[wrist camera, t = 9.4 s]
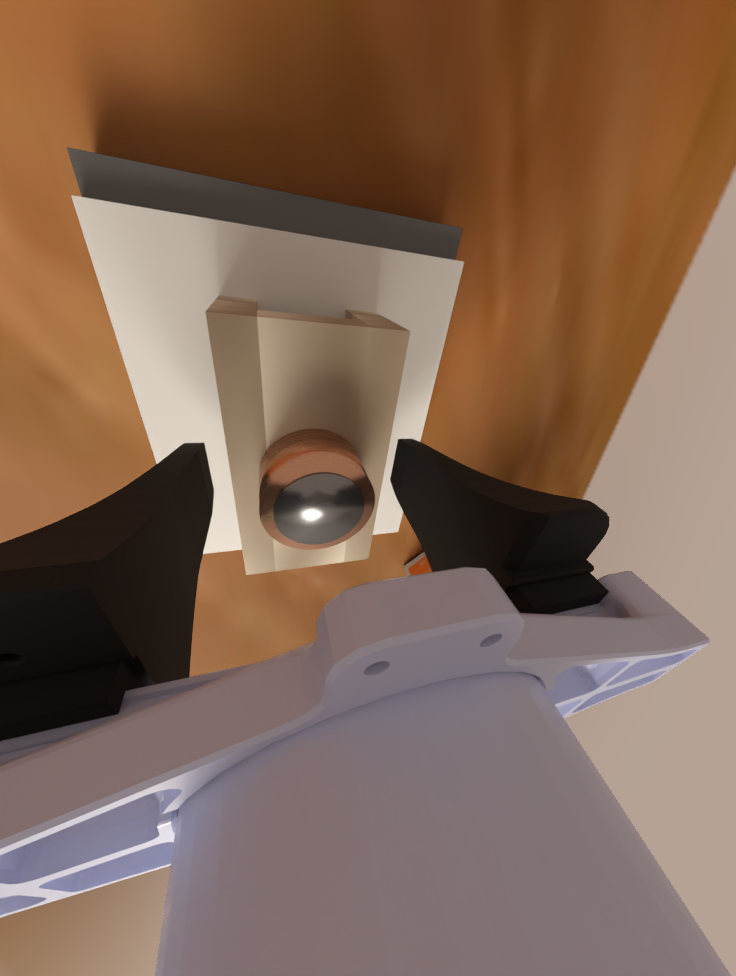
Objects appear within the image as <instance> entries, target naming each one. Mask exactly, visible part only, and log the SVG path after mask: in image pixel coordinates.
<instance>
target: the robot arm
mask: <svg viewBox="0 0 736 976" xmlns="http://www.w3.org/2000/svg"><path fill="white" fill-rule="evenodd" d="M390 481H391V484H392V487H393V490H394V493H395V496H396V498H397V500H398V502H399V504H400V506H401V508H402V510H403V512H404V514H405V515H406V517H407V519H408V521H409V523H410V525H411V526H412V528H413V530H414V532H415V534H416V535H417V537H418V539H419V541H420V543H421V545H422V547H423V550H424V552H425V555H426V557H427V560H428V562H429V565H430V567H431V570H432V572H430V573H424V574H418V575H411V576H405V577H399V578H392V579H386V580H380V581H373V582H367V583H364V584H361V585H358V586H355V587H352V588H349V589H346V590H344V591H343V592H341V593H340V594H339V595H337V596H336V597H334V598H333V599H332V600H330V601H329V602H328V603H327V604H326V605H325V606H324V607H323V609H322V611H321V613H320V616H319V618H318V620H317V622H316V638H315V641H313V642H311V643H308V644H306V645H303V646H301V647H298V648H296V649H293V650H290V651H288V652H285V653H283V654H280V655H278V656H275V657H273V658H270V659H267V660H265V661H262V662H259V663H254V664H249V665H245V666H240V667H235V668H231V669H226V670H221V671H217V672H212V673H207V674H202V675H198V676H193V677H189V672H190V656H191V643H192V630H193V619H194V608H195V599H196V590H197V581H198V574H199V568H200V563H201V559H202V555H203V551H204V547H205V543H206V539H207V534H208V530H209V526H210V522H211V517H212V512H213V500H214V488H213V483H212V478H211V473H210V468H209V463H208V458H207V453H206V449H205V444H204V443H184V444H182V445H181V446H179V447H178V448H177V449H176V450H174V451H173V452H172V453H170V454H169V455H168V456H167V457H165V458H164V459H163V460H162V461H160V462H159V463H158V464H156V465H155V466H154V467H153V468H151V469H150V470H149V471H147V472H146V473H144V474H143V475H141V476H140V477H138V478H137V479H135V480H134V481H133V482H131V483H130V484H128V485H127V486H125V487H124V488H122V489H120V490H119V491H117V492H115V493H114V494H112V495H110V496H108V497H107V498H105V499H103V500H101V501H99V502H97V503H96V504H94V505H92V506H90V507H88V508H85V509H83V510H81V511H79V512H77V513H75V514H72V515H70V516H68V517H66V518H64V519H62V520H60V521H57V522H55V523H53V524H50V525H48V526H45V527H43V528H40V529H38V530H35V531H33V532H30V533H28V534H25V535H22V536H20V537H17V538H14V539H12V540H9V541H6V542H3V543H0V917H3V916H6V915H10V914H13V913H16V912H20V911H23V910H26V909H29V908H32V907H36V906H39V905H42V904H46V903H49V902H52V901H55V900H59V899H62V898H65V897H69V896H72V895H75V894H78V893H82V892H85V891H88V890H92V889H95V888H98V887H101V886H105V885H108V884H111V883H114V882H118V881H121V880H124V879H127V878H131V877H134V876H138V875H140V874H144V873H147V872H150V871H154V870H157V869H160V868H163V867H167V866H170V873H169V879H168V887H167V894H166V901H165V908H164V915H163V922H162V929H161V936H160V943H159V950H158V957H157V964H156V971H155V976H731V975H730V973H729V972H728V970H727V969H726V967H725V966H724V964H723V963H722V961H721V959H720V958H719V956H718V955H717V953H716V952H715V950H714V949H713V947H712V946H711V944H710V943H709V941H708V939H707V938H706V936H705V935H704V933H703V932H702V930H701V929H700V928H699V926H698V924H697V923H696V921H695V919H694V918H693V917H692V915H691V913H690V912H689V910H688V909H687V907H686V906H685V904H684V903H683V901H682V899H681V898H680V897H679V895H678V894H677V892H676V890H675V889H674V887H673V886H672V884H671V883H670V881H669V880H668V878H667V876H666V875H665V874H664V872H663V870H662V869H661V867H660V866H659V864H658V863H657V861H656V859H655V858H654V856H653V855H652V853H651V852H650V850H649V849H648V848H647V846H646V844H645V843H644V841H643V840H642V838H641V836H640V835H639V833H638V832H637V831H636V829H635V827H634V826H633V824H632V823H631V821H630V820H629V818H628V817H627V815H626V814H625V812H624V810H623V809H622V807H621V806H620V804H619V803H618V801H617V800H616V798H615V796H614V795H613V794H612V792H611V790H610V789H609V787H608V786H607V784H606V783H605V781H604V780H603V778H602V776H601V775H600V774H599V772H598V770H597V769H596V767H595V766H594V764H593V763H592V761H591V760H590V758H589V756H588V755H587V753H586V752H585V750H584V749H583V747H582V746H581V744H580V743H579V741H578V740H577V738H576V737H575V735H574V733H573V732H572V730H571V729H570V727H569V726H568V724H567V723H566V721H565V720H564V718H566V717H568V716H571V715H573V714H575V713H577V712H580V711H582V710H584V709H587V708H589V707H591V706H594V705H596V704H598V703H601V702H603V701H606V700H608V699H610V698H613V697H615V696H618V695H620V694H623V693H625V692H628V691H630V690H633V689H636V688H638V687H641V686H644V685H646V684H649V683H652V682H654V681H655V680H657V679H658V678H660V677H661V676H662V675H663V674H665V673H667V672H668V671H670V670H671V669H673V668H674V667H676V666H677V665H679V664H680V663H681V662H683V661H684V660H686V659H687V658H689V657H690V656H692V655H693V654H694V653H696V652H698V651H699V650H700V649H702V648H703V647H705V646H706V645H708V644H709V643H710V639H709V638H708V637H707V636H706V635H705V634H704V633H702V632H701V631H700V630H699V629H698V628H697V627H695V626H694V625H693V624H692V623H691V622H690V621H688V620H687V619H686V618H685V617H684V616H683V615H682V614H680V613H679V612H678V611H677V610H676V609H675V608H673V607H672V606H671V605H670V604H669V603H668V602H666V601H665V600H664V599H663V598H662V597H661V596H660V595H658V594H657V593H656V592H655V591H654V590H653V589H651V588H650V587H649V586H648V585H647V584H646V583H645V582H643V581H642V580H641V579H640V578H639V577H638V576H636V575H635V574H634V573H633V572H632V571H625V572H620V573H615V574H610V575H606V576H603V577H601V578H600V579H598V580H597V579H596V578H595V577H594V576H593V575H591V573H590V572H592V571H593V570H594V567H593V565H592V564H591V563H589V562H588V561H587V560H586V559H587V558H588V557H589V555H590V554H591V553H592V552H593V550H594V549H595V548H596V546H597V545H598V544H599V543H600V541H601V540H602V539H603V537H604V535H605V534H606V532H607V530H608V527H609V517H608V515H607V513H606V512H604V511H603V510H602V509H600V508H599V507H598V506H597V505H595V504H594V503H592V502H590V501H588V500H582V499H576V498H570V497H564V496H558V495H553V494H548V493H544V492H539V491H535V490H531V489H527V488H523V487H520V486H517V485H513V484H510V483H507V482H504V481H501V480H498V479H495V478H493V477H490V476H488V475H485V474H483V473H480V472H478V471H475V470H473V469H471V468H469V467H467V466H465V465H463V464H461V463H459V462H457V461H455V460H453V459H451V458H449V457H447V456H445V455H443V454H442V453H440V452H438V451H436V450H434V449H432V448H431V447H429V446H427V445H425V444H423V443H421V442H419V441H417V440H414V439H398V442H397V447H396V452H395V457H394V462H393V468H392V473H391V478H390Z"/></svg>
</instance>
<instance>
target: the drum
mask: <svg viewBox="0 0 736 976" xmlns="http://www.w3.org/2000/svg"><path fill="white" fill-rule="evenodd" d="M374 505H375V493H374V489H373V486H372V484H371V482H370V480H369V478H368V475H367V473H366V471H365V469H364V467H363V465H362V463H361V461H360V459H359V457H358V455H357V453H356V451H355V449H354V447H353V446H352V445H351V444H350V443H349V442H348V441H347V440H346V439H345V438H343V437H342V436H340V435H339V434H336V433H334V432H331V431H328V430H324V429H314V428H312V429H302V430H297V431H294V432H291V433H289V434H287V435H285V436H283V437H281V438H280V439H278V440H277V441H276V442H274V443H273V444H272V445H271V446H270V447H269V448H268V450H267V451H266V453H265V454H264V456H263V458H262V460H261V463H260V468H259V515H260V520H261V523H262V525H263V527H264V529H265V530H266V532H267V533H268V534H269V535H270V536H271V537H272V538H273V539H275V540H276V541H278V542H279V543H281V544H284V545H286V546H289V547H292V548H297V549H304V550H314V549H323V548H327V547H331V546H334V545H337V544H340V543H342V542H344V541H346V540H348V539H349V538H351V537H352V536H354V535H355V534H356V533H358V532H359V531H360V530H361V529H362V528H363V527H364V526H365V524H366V523H367V522H368V520H369V518H370V517H371V515H372V512H373V509H374Z"/></svg>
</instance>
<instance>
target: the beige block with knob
mask: <svg viewBox="0 0 736 976" xmlns="http://www.w3.org/2000/svg"><path fill="white" fill-rule="evenodd" d="M205 313H206V320H207V326H208V332H209V339H210V345H211V352H212V358H213V364H214V371H215V377H216V384H217V390H218V397H219V403H220V409H221V416H222V422H223V429H224V435H225V442H226V448H227V454H228V461H229V467H230V474H231V480H232V487H233V493H234V499H235V506H236V512H237V519H238V525H239V531H240V538H241V544H242V551H243V557H244V564H245V570H246V575H250V574H257V573H265V572H272V571H280V570H288V569H295V568H303V567H310V566H318V565H325V564H333V563H340V562H348V561H356V560H363V559H368V557H369V552H370V546H371V541H372V535H373V530H374V525H375V519H376V514H377V509H378V503H379V498H380V492H381V487H382V482H383V476H384V471H385V466H386V460H387V455H388V449H389V444H390V439H391V433H392V428H393V422H394V417H395V412H396V406H397V401H398V396H399V390H400V385H401V379H402V374H403V369H404V363H405V358H406V353H407V347H408V342H409V336H410V331H409V330H407V329H405V328H404V327H402V326H400V325H398V324H396V323H394V322H393V321H391V320H389V319H387V318H385V317H383V316H382V315H380V314H378V313H375V312H366V311H357V310H348V309H346V311H345V318H335V317H325V316H315V315H305V314H295V313H285V312H275V311H265V310H258V302H257V299H248V298H239V297H230V296H221V295H219V296H218V297H217V298H216V299H215V301H214V302H213V303H212V304H211V306H210V307H209V308H208V309H207V310H206V312H205ZM312 428H314V429H324V430H328V431H331V432H334V433H336V434H339V435H340V436H342V437H343V438H345V439H346V440H347V441H348V442H349V443H350V444H351V445H352V446H353V447H354V449H355V451H356V453H357V455H358V457H359V459H360V461H361V463H362V465H363V467H364V469H365V471H366V473H367V475H368V478H369V480H370V482H371V484H372V486H373V489H374V493H375V505H374V509H373V512H372V515H371V517H370V518H369V520H368V522H367V523H366V524H365V526H364V527H363V528H362V529H361V530H360V531H359V532H358V533H356V534H355V535H354V536H352V537H351V538H349V539H348V540H346V541H344V542H342V543H340V544H337V545H334V546H331V547H327V548H323V549H314V550H304V549H297V548H292V547H289V546H286V545H284V544H281V543H279V542H278V541H276V540H275V539H273V538H272V537H271V536H270V535H269V534H268V533H267V532H266V530H265V529H264V527H263V525H262V523H261V520H260V515H259V468H260V463H261V460H262V458H263V456H264V454H265V453H266V451H267V450H268V448H269V447H270V446H271V445H272V444H273V443H274V442H276V441H277V440H278V439H280V438H281V437H283V436H285V435H287V434H289V433H291V432H294V431H297V430H302V429H312Z"/></svg>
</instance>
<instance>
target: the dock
mask: <svg viewBox="0 0 736 976" xmlns="http://www.w3.org/2000/svg"><path fill="white" fill-rule="evenodd" d="M67 149H68V153H69V156H70V159H71V162H72V166H73V169H74V172H75V176H76V179H77V182H78V185H79V189H80V192H81V195H82V197H79V196H73V195H71V197H72V200H73V203H74V206H75V209H76V212H77V215H78V218H79V222H80V225H81V228H82V231H83V234H84V237H85V240H86V244H87V247H88V250H89V253H90V256H91V259H92V262H93V266H94V269H95V272H96V275H97V278H98V281H99V284H100V288H101V291H102V294H103V297H104V300H105V303H106V306H107V309H108V313H109V316H110V319H111V322H112V325H113V328H114V331H115V335H116V338H117V341H118V344H119V347H120V350H121V353H122V357H123V360H124V363H125V366H126V369H127V372H128V375H129V379H130V382H131V385H132V388H133V391H134V394H135V397H136V400H137V404H138V407H139V410H140V413H141V416H142V419H143V422H144V426H145V429H146V432H147V435H148V438H149V441H150V444H151V448H152V451H153V454H154V457H155V460H156V463H157V464H158V463H159V462H160V461H162V460H163V459H164V458H165V457H167V456H168V455H169V454H170V453H172V452H173V451H174V450H176V449H177V448H178V447H179V446H181V445H182V444H184V443H204V444H205V449H206V453H207V458H208V463H209V468H210V473H211V478H212V483H213V488H214V500H213V512H212V517H211V522H210V526H209V530H208V534H207V539H206V543H205V547H204V551H203V554H206V553H215V552H224V551H232V550H241V549H242V544H241V538H240V531H239V525H238V519H237V512H236V506H235V499H234V493H233V487H232V480H231V474H230V467H229V461H228V454H227V448H226V442H225V435H224V429H223V422H222V416H221V409H220V403H219V397H218V390H217V384H216V377H215V371H214V364H213V358H212V352H211V345H210V339H209V332H208V326H207V320H206V313H205V312H206V310H207V309H208V308H209V307H210V306H211V304H212V303H213V302H214V301H215V299H216V298H217V297H218V296H219V295H221V296H230V297H239V298H248V299H257V302H258V310H265V311H275V312H285V313H295V314H305V315H315V316H325V317H335V318H345V311H346V309H348V310H357V311H366V312H375V313H378V314H380V315H382V316H383V317H385V318H387V319H389V320H391V321H393V322H394V323H396V324H398V325H400V326H402V327H404V328H405V329H407V330H409V331H410V336H409V342H408V347H407V353H406V358H405V363H404V369H403V374H402V379H401V385H400V390H399V396H398V401H397V406H396V412H395V417H394V422H393V428H392V433H391V439H390V444H389V449H388V455H387V460H386V466H385V471H384V476H383V482H382V487H381V492H380V498H379V503H378V509H377V514H376V519H375V525H374V530H373V535H375V534H384V533H393V532H398V530H399V526H400V522H401V518H402V514H403V510H402V508H401V506H400V504H399V502H398V500H397V498H396V496H395V493H394V490H393V487H392V484H391V481H390V478H391V473H392V468H393V462H394V457H395V452H396V447H397V442H398V439H414V440H417V441H419V442H420V440H421V436H422V432H423V428H424V424H425V420H426V416H427V412H428V408H429V404H430V400H431V396H432V391H433V387H434V383H435V379H436V375H437V371H438V367H439V363H440V359H441V355H442V351H443V346H444V342H445V338H446V334H447V330H448V326H449V322H450V318H451V314H452V310H453V306H454V302H455V297H456V293H457V289H458V285H459V281H460V277H461V273H462V269H463V265H464V262H463V261H457V260H456V256H457V251H458V247H459V243H460V238H461V234H462V230H463V228H459V227H454V226H449V225H444V224H439V223H434V222H430V221H425V220H420V219H415V218H410V217H405V216H400V215H395V214H391V213H386V212H381V211H376V210H371V209H366V208H361V207H356V206H351V205H347V204H342V203H337V202H332V201H327V200H322V199H317V198H312V197H307V196H303V195H298V194H293V193H288V192H283V191H278V190H273V189H268V188H264V187H259V186H254V185H249V184H244V183H239V182H234V181H229V180H224V179H220V178H215V177H210V176H205V175H200V174H195V173H190V172H185V171H181V170H176V169H171V168H166V167H161V166H156V165H151V164H146V163H141V162H137V161H132V160H127V159H122V158H117V157H112V156H107V155H102V154H97V153H93V152H88V151H83V150H78V149H73V148H68V147H67Z"/></svg>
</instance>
